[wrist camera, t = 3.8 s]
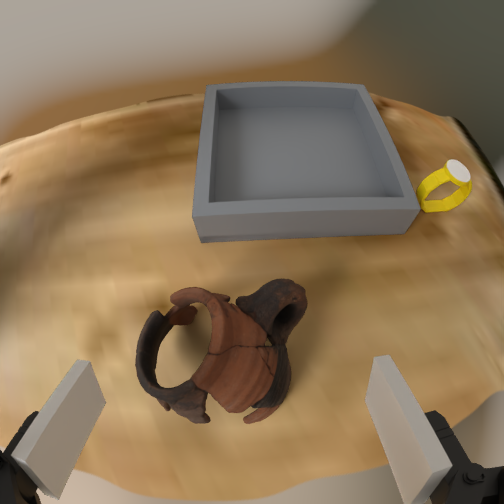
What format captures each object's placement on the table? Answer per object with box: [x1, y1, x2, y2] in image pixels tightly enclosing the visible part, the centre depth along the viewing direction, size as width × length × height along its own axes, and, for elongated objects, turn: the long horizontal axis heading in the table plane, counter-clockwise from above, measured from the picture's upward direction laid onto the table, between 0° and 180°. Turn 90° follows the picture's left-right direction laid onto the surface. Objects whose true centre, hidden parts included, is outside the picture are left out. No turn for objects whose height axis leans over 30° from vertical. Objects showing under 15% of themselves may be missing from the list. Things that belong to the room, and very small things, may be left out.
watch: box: [416, 159, 472, 213], centre depth 26 cm, size 6×3×6 cm, turn 96°
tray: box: [192, 81, 421, 243], centre depth 29 cm, size 18×18×4 cm
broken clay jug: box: [135, 279, 307, 424], centre depth 20 cm, size 12×10×8 cm
